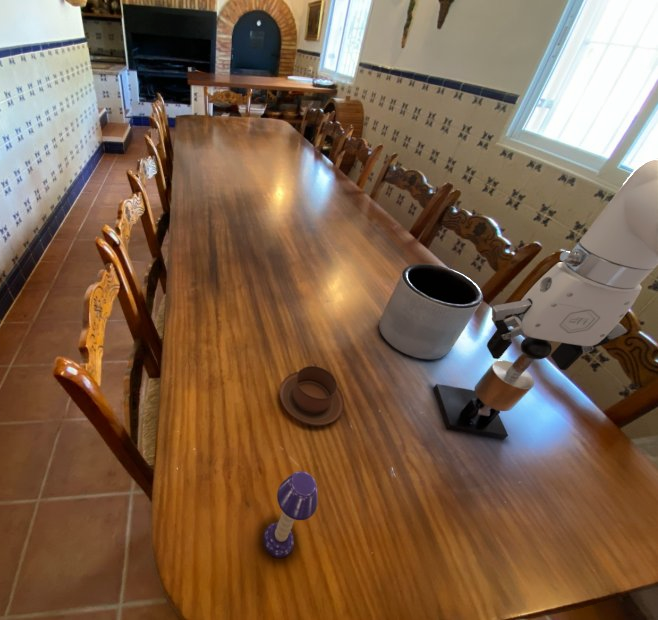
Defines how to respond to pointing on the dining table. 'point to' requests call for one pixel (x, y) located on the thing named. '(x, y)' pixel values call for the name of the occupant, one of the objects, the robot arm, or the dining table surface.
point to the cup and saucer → (312, 396)
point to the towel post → (510, 378)
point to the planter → (429, 310)
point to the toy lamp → (291, 512)
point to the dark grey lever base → (467, 413)
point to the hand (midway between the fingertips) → (524, 357)
